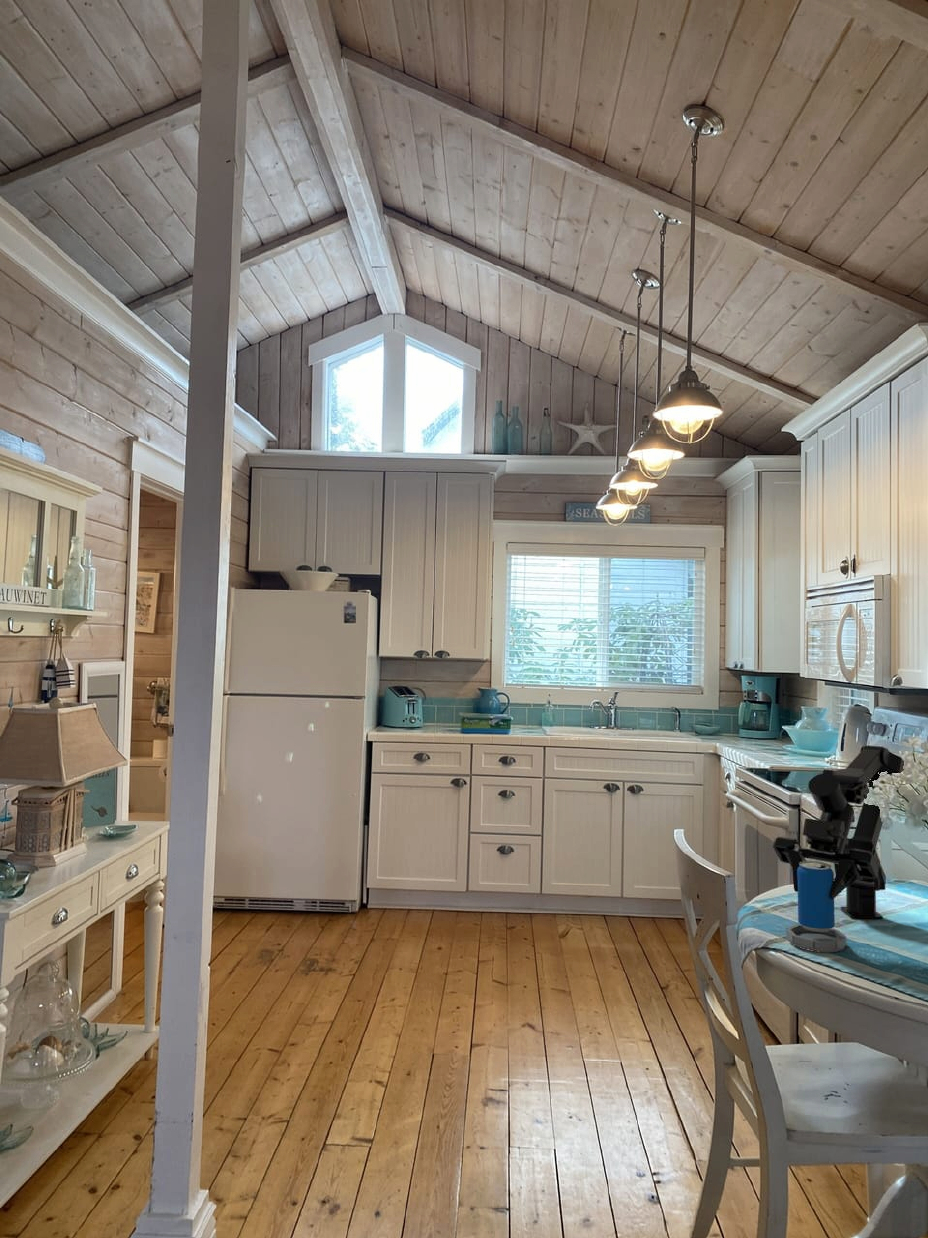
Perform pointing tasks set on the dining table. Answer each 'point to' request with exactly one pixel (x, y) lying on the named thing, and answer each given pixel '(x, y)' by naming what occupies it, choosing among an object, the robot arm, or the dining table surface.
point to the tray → (816, 939)
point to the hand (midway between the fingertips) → (812, 894)
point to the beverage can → (815, 896)
